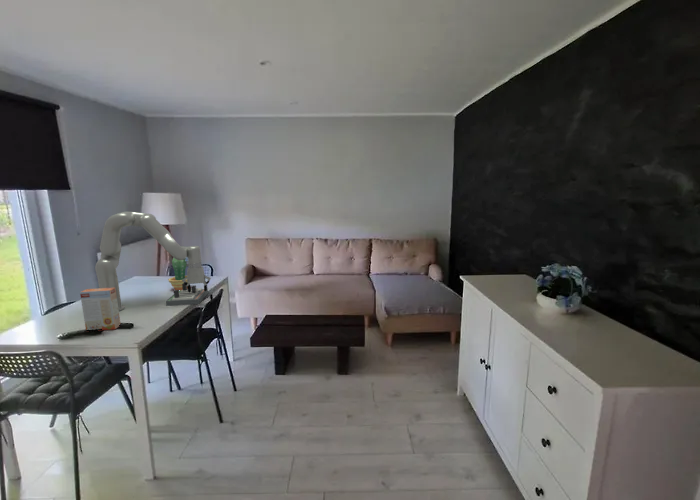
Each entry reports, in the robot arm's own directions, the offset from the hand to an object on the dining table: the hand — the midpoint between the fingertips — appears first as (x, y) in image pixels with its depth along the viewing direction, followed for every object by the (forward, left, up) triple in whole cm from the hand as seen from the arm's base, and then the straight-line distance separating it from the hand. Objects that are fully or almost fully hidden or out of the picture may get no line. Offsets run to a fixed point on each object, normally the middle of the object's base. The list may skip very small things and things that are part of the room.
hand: (197, 291), depth 227 cm
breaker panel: (0, +6, -5) cm, 8 cm away
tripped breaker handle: (0, +2, 0) cm, 2 cm away
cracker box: (-43, +35, -5) cm, 56 cm away
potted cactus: (+26, +18, -5) cm, 32 cm away
